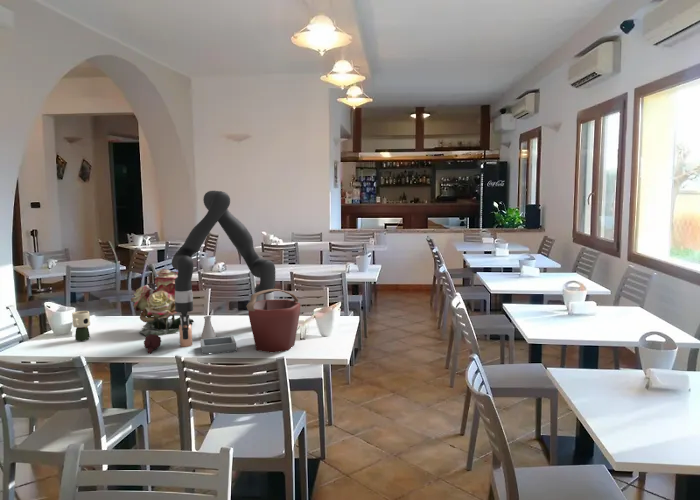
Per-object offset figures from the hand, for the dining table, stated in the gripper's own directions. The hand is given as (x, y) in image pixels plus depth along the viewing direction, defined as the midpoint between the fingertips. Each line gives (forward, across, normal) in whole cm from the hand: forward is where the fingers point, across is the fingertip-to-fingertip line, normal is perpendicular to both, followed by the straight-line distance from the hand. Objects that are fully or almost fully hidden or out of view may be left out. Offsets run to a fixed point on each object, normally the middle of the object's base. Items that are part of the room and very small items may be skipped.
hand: (185, 336), depth 251 cm
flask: (+4, +9, -10) cm, 14 cm away
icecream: (+4, -1, +14) cm, 14 cm away
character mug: (+4, +25, +45) cm, 52 cm away
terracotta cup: (+4, 0, 0) cm, 4 cm away
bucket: (+4, -15, -36) cm, 39 cm away
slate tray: (+4, -11, -13) cm, 17 cm away
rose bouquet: (+4, +32, +9) cm, 33 cm away
